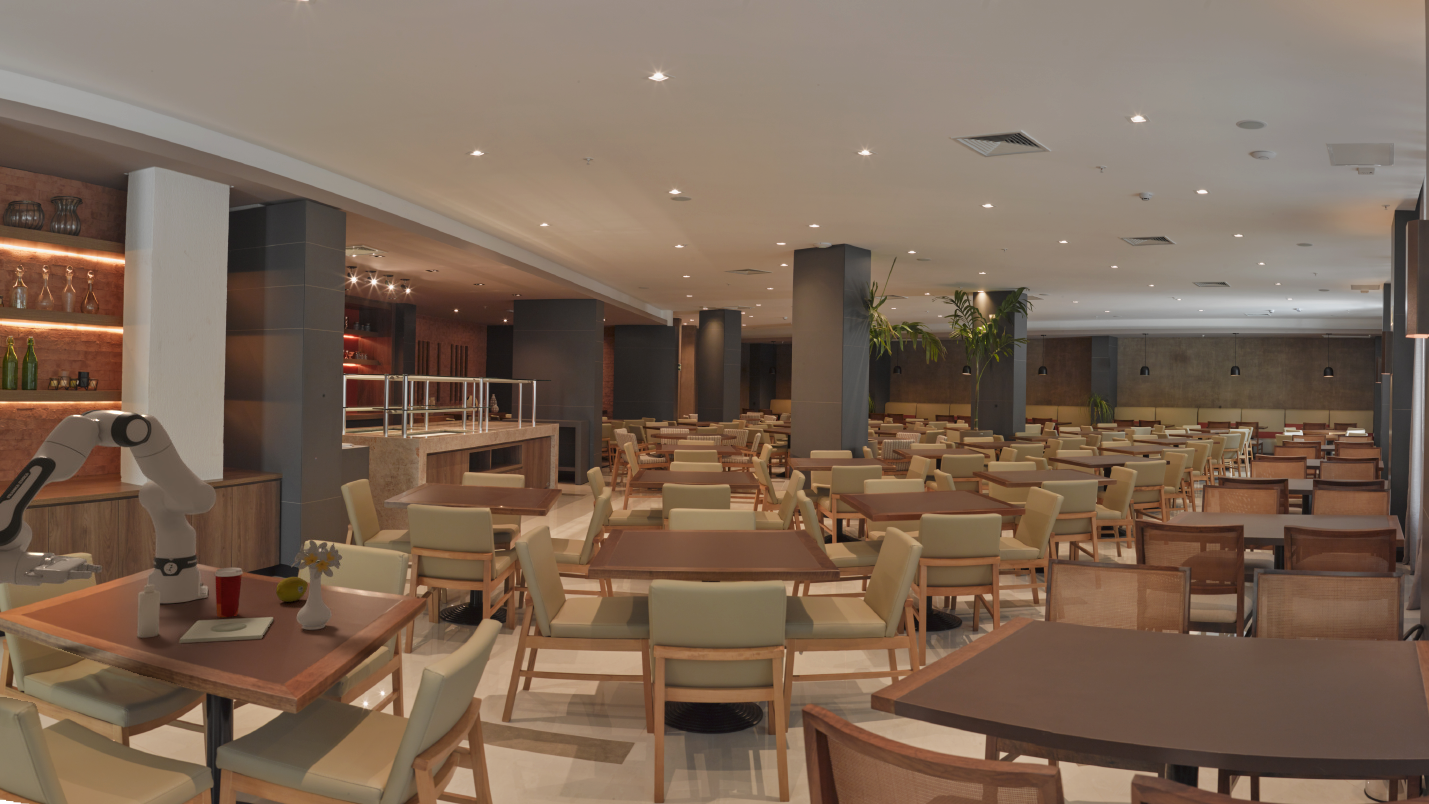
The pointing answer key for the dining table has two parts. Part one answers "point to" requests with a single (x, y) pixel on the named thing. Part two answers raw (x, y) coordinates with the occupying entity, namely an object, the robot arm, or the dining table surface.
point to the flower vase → (316, 583)
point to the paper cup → (228, 591)
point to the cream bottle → (148, 612)
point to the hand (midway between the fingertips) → (96, 572)
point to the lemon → (291, 589)
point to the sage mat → (227, 629)
